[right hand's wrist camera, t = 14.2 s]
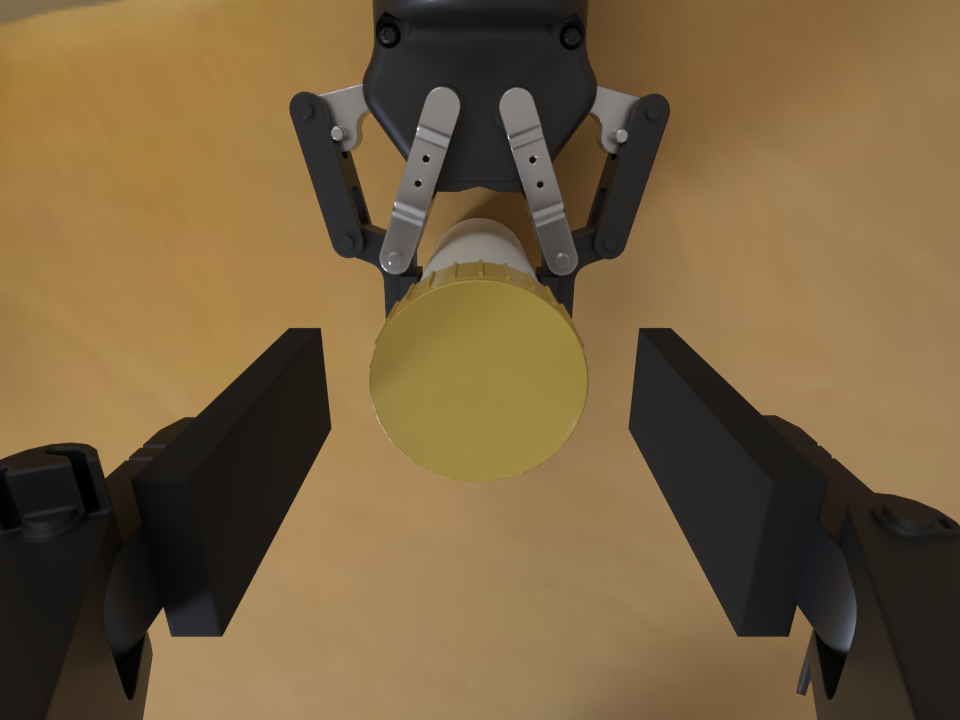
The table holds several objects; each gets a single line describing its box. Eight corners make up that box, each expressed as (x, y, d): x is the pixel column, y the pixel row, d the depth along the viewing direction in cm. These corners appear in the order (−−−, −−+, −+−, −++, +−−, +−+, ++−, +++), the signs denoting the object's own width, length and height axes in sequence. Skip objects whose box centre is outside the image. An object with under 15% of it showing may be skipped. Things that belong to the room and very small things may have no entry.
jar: (504, 323, 31) (527, 486, 16) (419, 290, 30) (360, 428, 15) (540, 238, 29) (605, 331, 14) (452, 203, 29) (421, 259, 13)
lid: (529, 465, 18) (536, 511, 15) (357, 404, 17) (338, 444, 15) (609, 303, 16) (630, 328, 14) (419, 227, 15) (409, 240, 13)
